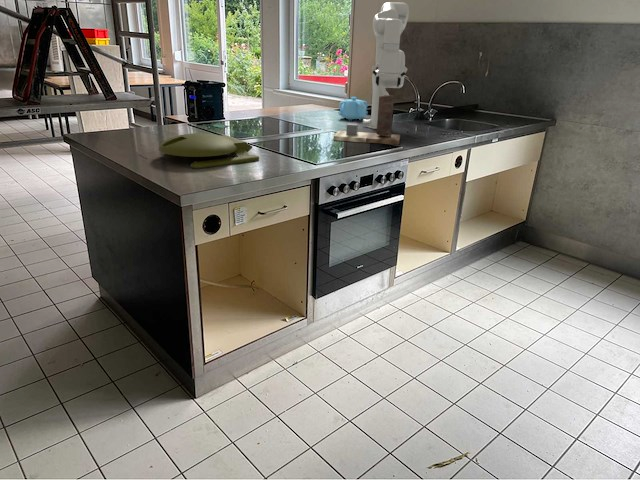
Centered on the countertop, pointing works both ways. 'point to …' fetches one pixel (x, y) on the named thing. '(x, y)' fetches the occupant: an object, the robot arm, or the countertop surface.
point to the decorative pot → (353, 109)
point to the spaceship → (208, 149)
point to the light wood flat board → (367, 138)
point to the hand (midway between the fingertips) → (387, 85)
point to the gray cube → (352, 129)
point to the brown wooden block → (385, 115)
